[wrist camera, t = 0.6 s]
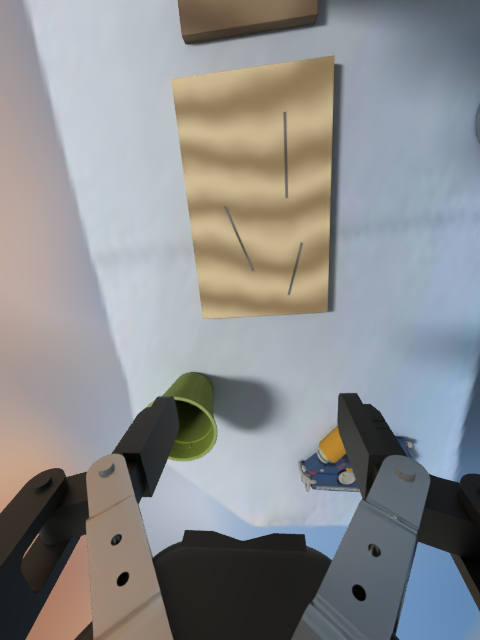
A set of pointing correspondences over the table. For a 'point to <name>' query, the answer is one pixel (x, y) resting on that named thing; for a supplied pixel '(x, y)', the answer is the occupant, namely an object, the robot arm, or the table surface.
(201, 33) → the shelf stand
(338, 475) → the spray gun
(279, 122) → the pine board
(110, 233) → the table surface
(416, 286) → the table surface
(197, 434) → the plant pot
